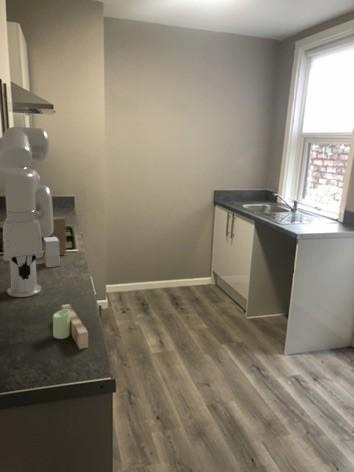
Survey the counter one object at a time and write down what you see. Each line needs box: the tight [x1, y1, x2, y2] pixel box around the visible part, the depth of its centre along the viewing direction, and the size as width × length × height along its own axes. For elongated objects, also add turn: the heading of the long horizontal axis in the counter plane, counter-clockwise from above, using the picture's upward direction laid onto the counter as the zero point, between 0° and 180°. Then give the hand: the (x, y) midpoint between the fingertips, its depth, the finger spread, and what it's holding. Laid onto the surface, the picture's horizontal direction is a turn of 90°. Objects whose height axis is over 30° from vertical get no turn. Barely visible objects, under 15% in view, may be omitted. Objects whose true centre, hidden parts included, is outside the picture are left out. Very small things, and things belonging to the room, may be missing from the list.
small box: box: [42, 236, 61, 268], centre depth 184 cm, size 8×6×13 cm
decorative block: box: [42, 216, 67, 256], centre depth 199 cm, size 11×6×20 cm, turn 113°
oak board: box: [61, 303, 89, 350], centre depth 122 cm, size 22×2×5 cm, turn 30°
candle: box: [52, 309, 71, 340], centre depth 119 cm, size 5×5×8 cm
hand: (24, 277), depth 111 cm, fingers closed
